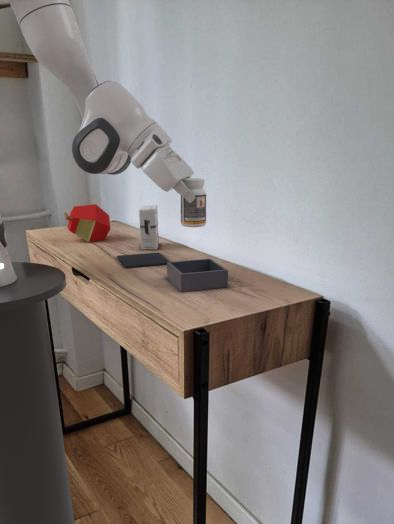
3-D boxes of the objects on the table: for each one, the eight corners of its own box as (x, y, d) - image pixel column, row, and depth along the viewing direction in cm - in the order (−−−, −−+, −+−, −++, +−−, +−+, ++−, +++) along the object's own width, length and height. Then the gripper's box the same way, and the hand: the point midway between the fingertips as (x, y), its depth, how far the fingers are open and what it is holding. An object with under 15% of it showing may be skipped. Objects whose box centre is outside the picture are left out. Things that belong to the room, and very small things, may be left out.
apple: (110, 249, 153) (63, 236, 146) (102, 243, 164) (57, 231, 157) (120, 211, 151) (72, 196, 144) (111, 208, 161) (66, 194, 154)
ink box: (143, 243, 151) (141, 204, 146) (159, 243, 151) (157, 204, 146) (140, 249, 143) (138, 208, 139) (157, 250, 143) (155, 208, 139)
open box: (181, 291, 107) (181, 274, 105) (167, 278, 117) (166, 262, 115) (227, 287, 110) (228, 270, 109) (210, 274, 120) (210, 258, 118)
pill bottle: (211, 225, 108) (212, 179, 104) (192, 229, 105) (193, 180, 101) (193, 222, 112) (194, 177, 108) (175, 225, 108) (175, 178, 104)
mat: (126, 268, 125) (126, 266, 125) (117, 257, 135) (117, 255, 135) (170, 264, 129) (170, 262, 128) (158, 254, 139) (158, 252, 139)
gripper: (154, 157, 114) (194, 202, 116) (128, 162, 95) (176, 215, 98) (172, 137, 111) (213, 183, 114) (149, 138, 93) (198, 193, 96)
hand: (196, 198), depth 106 cm, fingers closed on pill bottle, 6 cm apart
